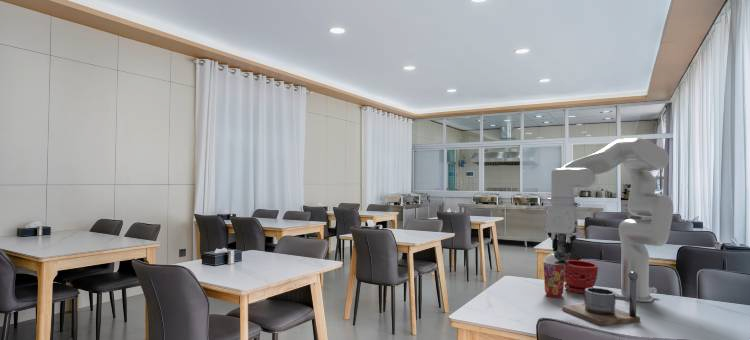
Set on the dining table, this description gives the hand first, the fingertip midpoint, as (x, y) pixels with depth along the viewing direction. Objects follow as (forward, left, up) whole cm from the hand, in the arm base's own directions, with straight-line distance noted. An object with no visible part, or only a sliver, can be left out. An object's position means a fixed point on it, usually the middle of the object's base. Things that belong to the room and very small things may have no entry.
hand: (562, 251), depth 158 cm
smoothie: (-9, -15, -21) cm, 27 cm away
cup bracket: (-7, +10, -21) cm, 24 cm away
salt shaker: (0, 0, -5) cm, 5 cm away
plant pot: (-25, -18, -21) cm, 38 cm away
